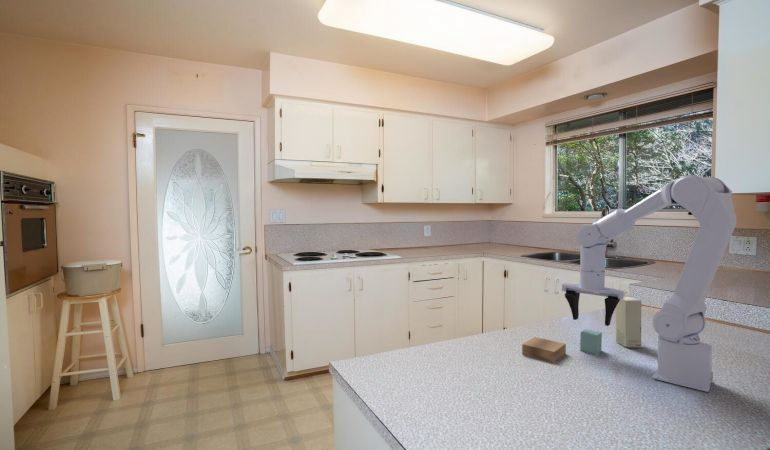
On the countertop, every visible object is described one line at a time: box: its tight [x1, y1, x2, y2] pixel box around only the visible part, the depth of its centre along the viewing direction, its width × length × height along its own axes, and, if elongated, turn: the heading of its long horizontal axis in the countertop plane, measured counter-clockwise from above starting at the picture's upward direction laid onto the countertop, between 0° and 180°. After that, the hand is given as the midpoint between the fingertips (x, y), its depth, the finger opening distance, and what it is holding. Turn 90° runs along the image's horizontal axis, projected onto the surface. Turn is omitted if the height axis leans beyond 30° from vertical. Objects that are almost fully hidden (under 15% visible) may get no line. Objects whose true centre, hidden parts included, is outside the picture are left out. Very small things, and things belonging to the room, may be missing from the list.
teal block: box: [579, 328, 603, 355], centre depth 102 cm, size 4×4×5 cm
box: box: [615, 296, 642, 348], centre depth 106 cm, size 5×4×13 cm
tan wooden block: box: [521, 336, 567, 363], centre depth 99 cm, size 8×8×3 cm
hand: (591, 321), depth 102 cm, fingers open, 7 cm apart
